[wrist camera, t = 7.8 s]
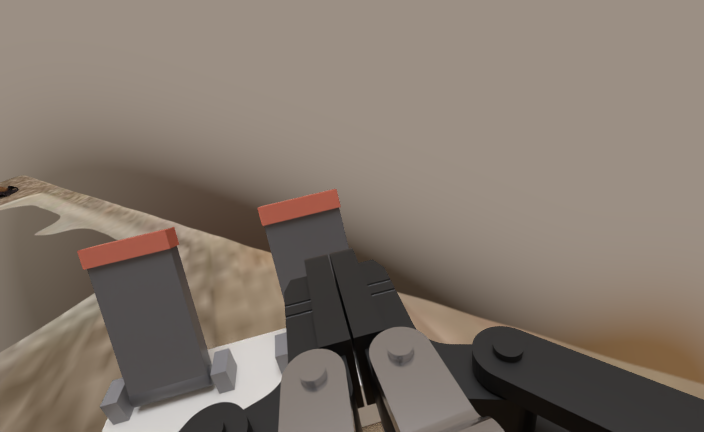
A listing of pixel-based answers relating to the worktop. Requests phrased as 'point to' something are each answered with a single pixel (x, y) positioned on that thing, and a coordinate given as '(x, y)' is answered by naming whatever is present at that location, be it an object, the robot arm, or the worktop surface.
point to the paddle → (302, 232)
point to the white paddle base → (214, 388)
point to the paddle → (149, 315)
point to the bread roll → (7, 191)
